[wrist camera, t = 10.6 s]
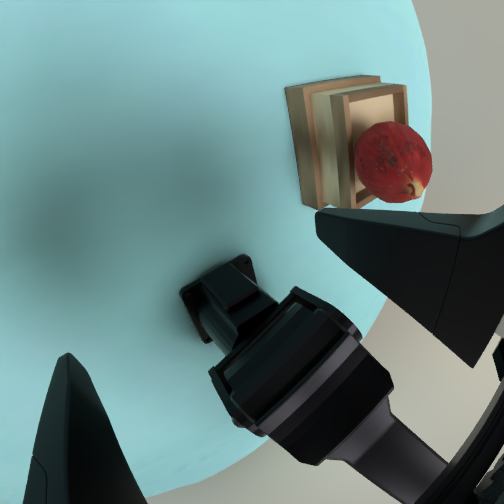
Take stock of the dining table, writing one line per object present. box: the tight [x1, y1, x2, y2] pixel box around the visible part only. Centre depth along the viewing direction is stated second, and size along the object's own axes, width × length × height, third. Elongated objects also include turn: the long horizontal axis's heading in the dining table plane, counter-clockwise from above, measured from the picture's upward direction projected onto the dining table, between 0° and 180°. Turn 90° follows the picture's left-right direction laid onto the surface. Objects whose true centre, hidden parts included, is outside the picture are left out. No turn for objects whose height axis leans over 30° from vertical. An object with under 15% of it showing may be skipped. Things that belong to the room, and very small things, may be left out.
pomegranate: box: [354, 121, 432, 203], centre depth 19 cm, size 6×6×8 cm
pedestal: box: [285, 75, 408, 210], centre depth 24 cm, size 10×10×5 cm
